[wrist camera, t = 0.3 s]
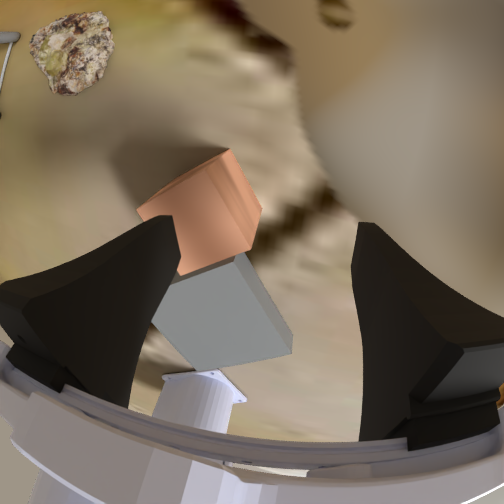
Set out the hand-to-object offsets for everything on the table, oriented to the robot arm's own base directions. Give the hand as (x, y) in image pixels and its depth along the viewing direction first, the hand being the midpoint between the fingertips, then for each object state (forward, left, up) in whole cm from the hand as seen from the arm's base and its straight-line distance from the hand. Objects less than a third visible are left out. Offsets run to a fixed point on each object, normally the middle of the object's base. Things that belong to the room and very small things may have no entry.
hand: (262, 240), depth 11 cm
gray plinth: (-11, -9, -10) cm, 17 cm away
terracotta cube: (-5, +1, -10) cm, 11 cm away
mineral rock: (-10, +19, -10) cm, 23 cm away
